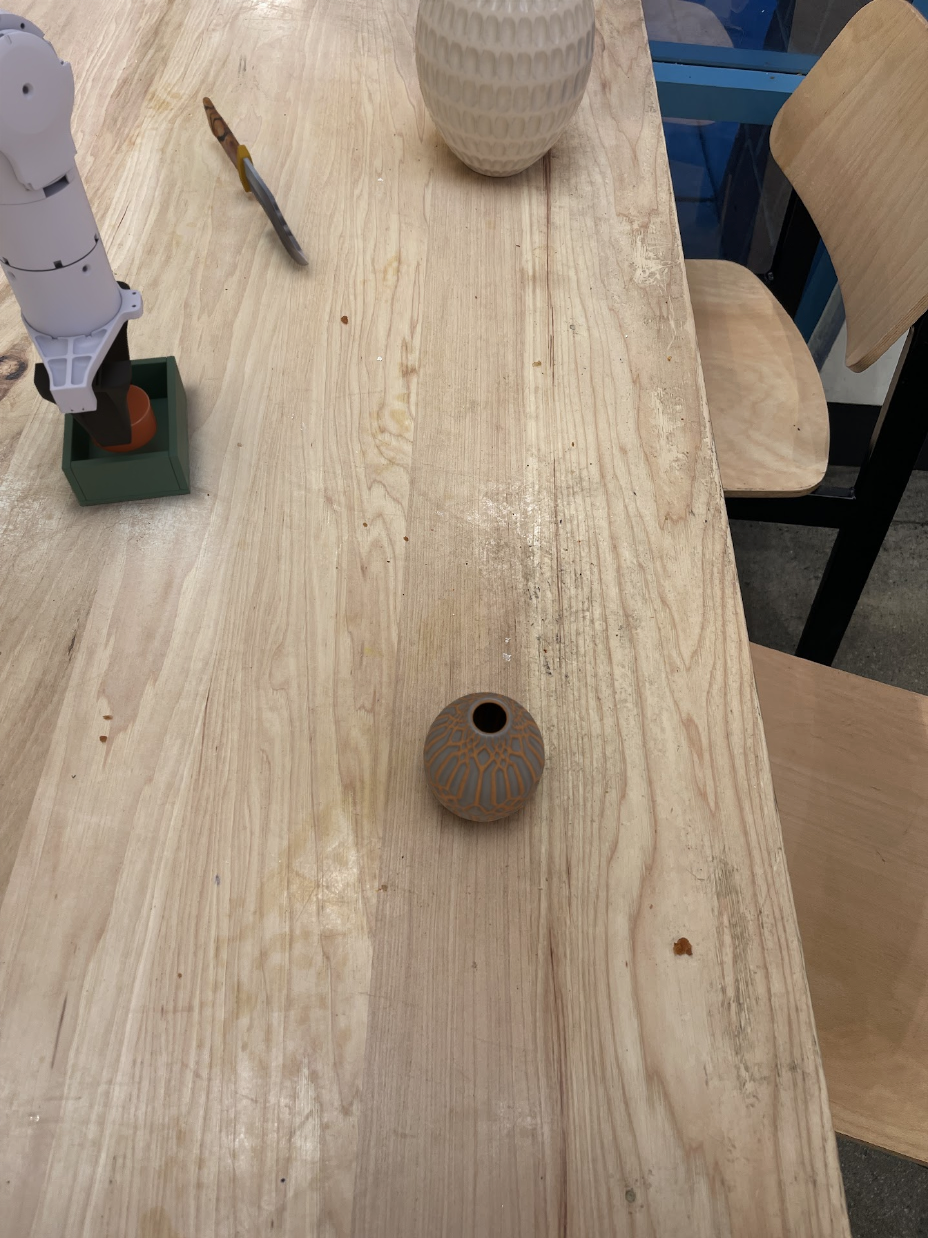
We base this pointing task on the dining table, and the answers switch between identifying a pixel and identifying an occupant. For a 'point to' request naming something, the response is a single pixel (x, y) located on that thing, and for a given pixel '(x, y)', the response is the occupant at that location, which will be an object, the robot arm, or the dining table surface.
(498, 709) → the vase
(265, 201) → the knife
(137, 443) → the cylinder
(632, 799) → the dining table surface
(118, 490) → the tub
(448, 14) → the vase
